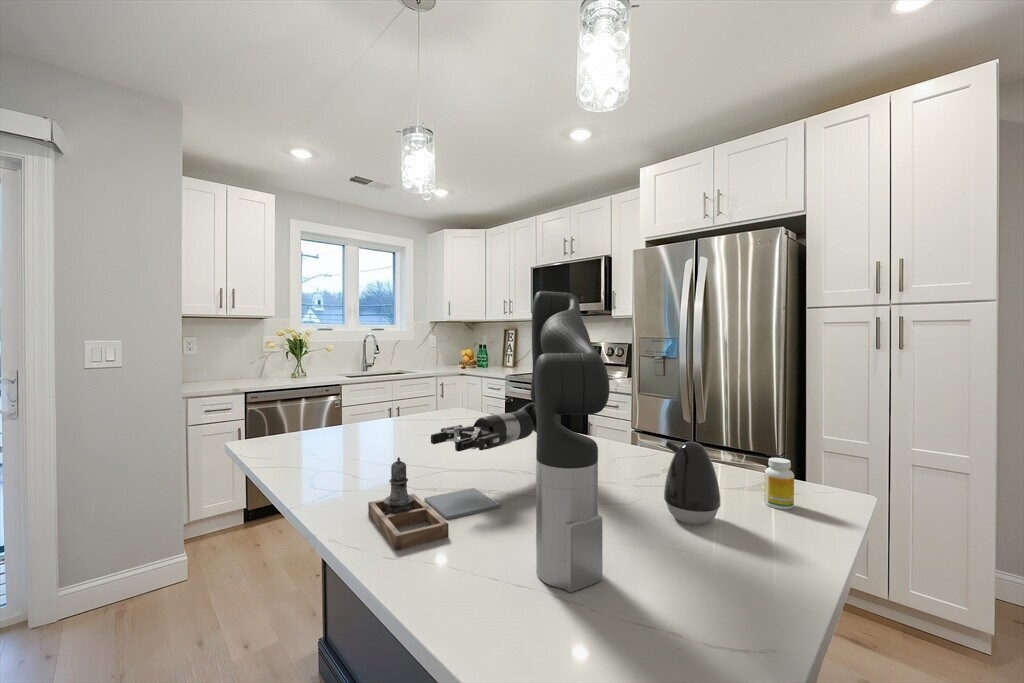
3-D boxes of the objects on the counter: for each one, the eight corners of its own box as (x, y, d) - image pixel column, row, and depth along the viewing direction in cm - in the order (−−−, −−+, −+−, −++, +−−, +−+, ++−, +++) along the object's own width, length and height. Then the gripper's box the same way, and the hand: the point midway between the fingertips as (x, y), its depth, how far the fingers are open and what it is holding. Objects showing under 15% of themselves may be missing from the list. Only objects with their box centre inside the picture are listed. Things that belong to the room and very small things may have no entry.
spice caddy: (448, 537, 81) (448, 523, 81) (395, 550, 76) (395, 536, 76) (414, 504, 97) (413, 493, 97) (368, 514, 92) (368, 502, 92)
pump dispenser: (677, 505, 96) (677, 433, 96) (728, 519, 89) (729, 441, 88) (653, 519, 89) (653, 441, 89) (707, 536, 82) (707, 451, 81)
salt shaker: (406, 524, 87) (406, 461, 86) (378, 522, 88) (377, 460, 88) (419, 512, 92) (418, 453, 92) (392, 510, 94) (391, 452, 93)
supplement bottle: (759, 500, 99) (759, 456, 99) (783, 500, 99) (783, 456, 99) (774, 510, 93) (774, 463, 93) (799, 510, 94) (800, 463, 93)
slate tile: (499, 507, 95) (499, 504, 95) (446, 519, 89) (446, 516, 89) (473, 490, 105) (473, 487, 105) (424, 500, 99) (424, 497, 99)
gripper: (477, 411, 115) (423, 420, 103) (518, 418, 105) (465, 430, 93) (477, 440, 115) (424, 453, 104) (518, 451, 106) (465, 467, 94)
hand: (443, 442), depth 99 cm, fingers open, 8 cm apart
